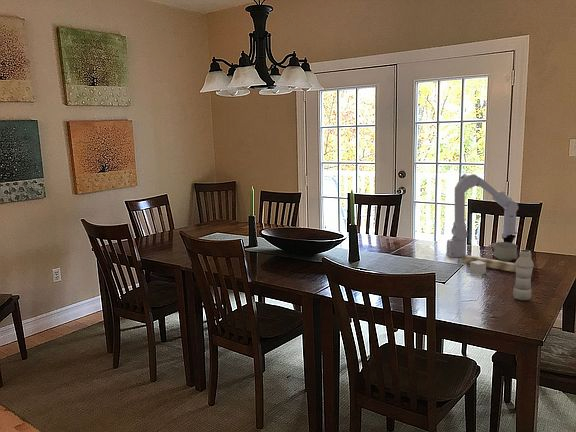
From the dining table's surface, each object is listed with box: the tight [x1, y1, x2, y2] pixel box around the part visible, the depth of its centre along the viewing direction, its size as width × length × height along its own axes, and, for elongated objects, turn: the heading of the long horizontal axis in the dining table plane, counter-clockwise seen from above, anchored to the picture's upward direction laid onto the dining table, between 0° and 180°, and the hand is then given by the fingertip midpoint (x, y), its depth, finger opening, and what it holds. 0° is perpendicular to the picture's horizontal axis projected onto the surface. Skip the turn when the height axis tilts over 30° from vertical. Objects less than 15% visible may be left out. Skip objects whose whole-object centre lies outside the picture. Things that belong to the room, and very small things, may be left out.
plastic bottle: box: [512, 249, 535, 301], centre depth 188 cm, size 6×7×20 cm
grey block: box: [469, 261, 487, 276], centre depth 225 cm, size 5×5×5 cm
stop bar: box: [461, 254, 516, 273], centre depth 234 cm, size 26×2×4 cm, turn 46°
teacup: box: [487, 241, 518, 262], centre depth 246 cm, size 14×11×8 cm
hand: (507, 248), depth 251 cm, fingers closed
